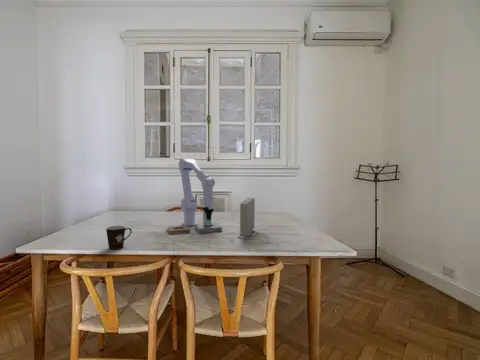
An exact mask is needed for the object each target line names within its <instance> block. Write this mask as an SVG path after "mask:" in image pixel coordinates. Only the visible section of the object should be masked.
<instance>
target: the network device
mask: <svg viewBox="0 0 480 360" xmlns="http://www.w3.org/2000/svg"><path fill="white" fill-rule="evenodd" d="M255 200H256V199H255V198H254V197H247V198H246V199H244V200H243V201H241V202H240V204H239V206H240V207H239V209H240V210H239V212H240V213H239V214H240V216H239V220H240V222H239V224H240V225H239V227H240V228H239V229H240V230H239V233H238V235H237V239H240V240H241V239H242V240H252V239H254V238H255V236H256V234H257V233H258V231H257V230H255V229H254V228H255V217H256V215H255V210H256V209H255V205H256V204H255V203H256V202H255ZM249 236H250V237H249Z"/></svg>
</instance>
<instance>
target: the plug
mask: <svg viewBox="0 0 480 360" xmlns="http://www.w3.org/2000/svg"><path fill="white" fill-rule="evenodd" d="M211 223H212V219H211V220H207V217H206V213H205V212H203V213H202V224H204V225H210V224H211Z"/></svg>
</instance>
